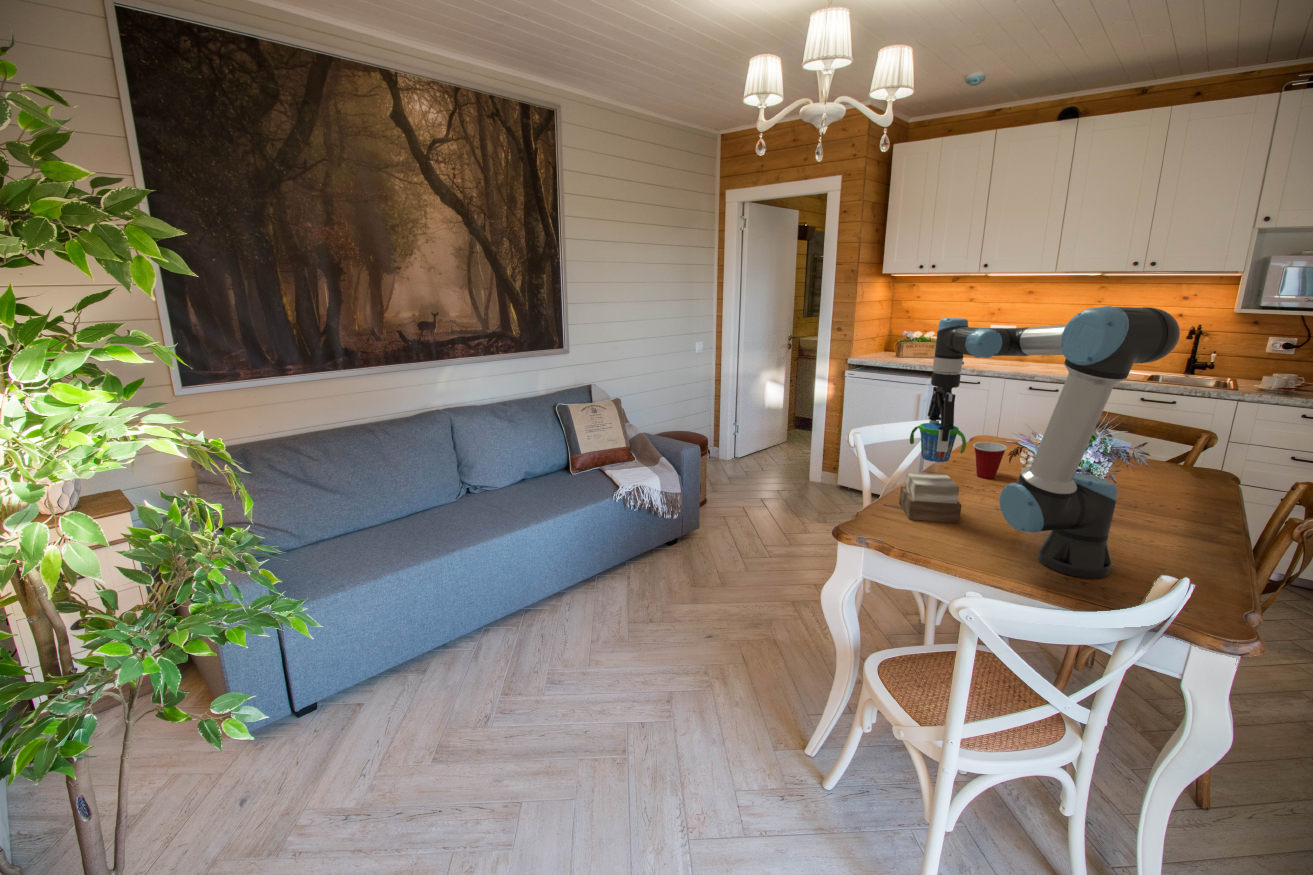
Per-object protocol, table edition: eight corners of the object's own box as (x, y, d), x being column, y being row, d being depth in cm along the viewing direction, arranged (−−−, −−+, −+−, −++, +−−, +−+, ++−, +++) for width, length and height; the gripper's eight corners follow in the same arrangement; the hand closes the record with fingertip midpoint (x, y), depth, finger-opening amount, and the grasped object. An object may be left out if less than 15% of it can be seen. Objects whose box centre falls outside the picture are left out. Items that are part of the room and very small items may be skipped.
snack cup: (901, 456, 188) (904, 423, 185) (918, 451, 194) (923, 419, 192) (952, 468, 176) (957, 434, 174) (969, 462, 183) (974, 429, 180)
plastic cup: (961, 473, 229) (966, 442, 226) (985, 471, 232) (990, 440, 229) (985, 482, 219) (990, 449, 216) (1009, 480, 222) (1014, 447, 219)
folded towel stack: (959, 522, 182) (964, 488, 179) (908, 519, 184) (913, 485, 181) (945, 506, 195) (950, 474, 192) (898, 502, 197) (902, 471, 195)
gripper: (973, 379, 167) (962, 457, 172) (948, 367, 189) (939, 437, 195) (943, 378, 168) (933, 456, 174) (922, 366, 190) (914, 436, 196)
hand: (936, 446), depth 184 cm, fingers closed on snack cup, 11 cm apart
